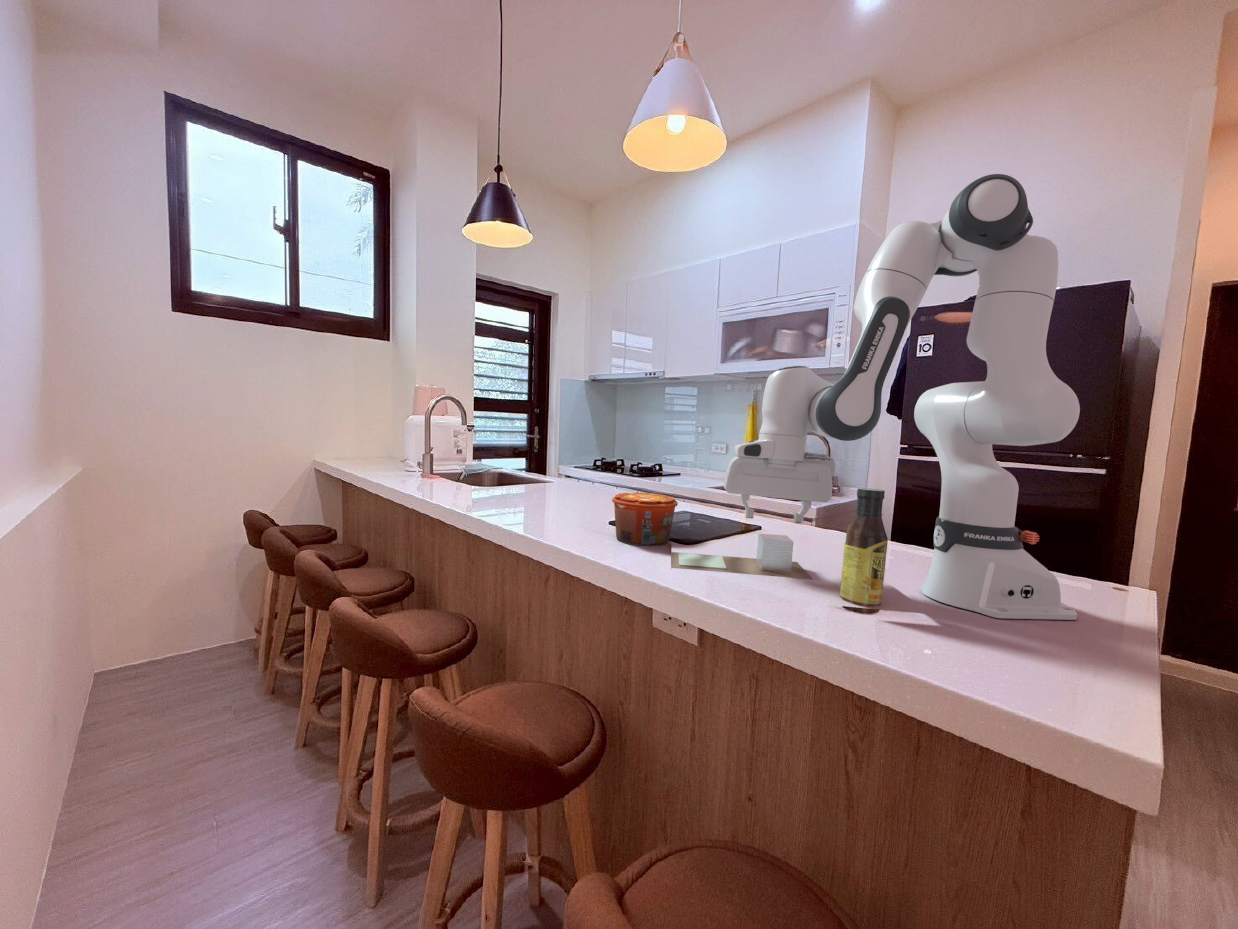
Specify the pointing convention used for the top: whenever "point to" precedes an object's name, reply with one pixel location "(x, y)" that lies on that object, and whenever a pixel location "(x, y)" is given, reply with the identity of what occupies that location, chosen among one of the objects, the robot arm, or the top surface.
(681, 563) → the post board
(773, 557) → the white cube
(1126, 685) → the top surface
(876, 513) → the sauce bottle
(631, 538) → the food container
